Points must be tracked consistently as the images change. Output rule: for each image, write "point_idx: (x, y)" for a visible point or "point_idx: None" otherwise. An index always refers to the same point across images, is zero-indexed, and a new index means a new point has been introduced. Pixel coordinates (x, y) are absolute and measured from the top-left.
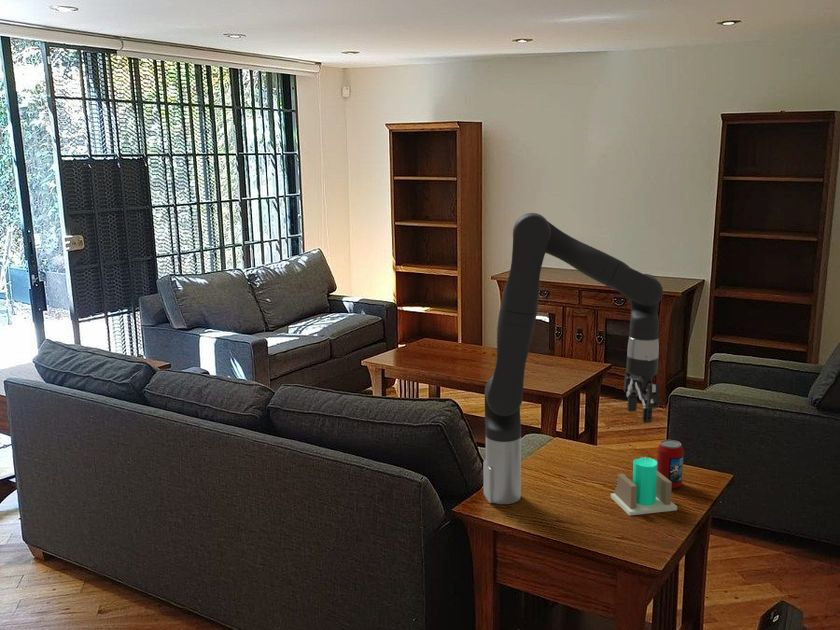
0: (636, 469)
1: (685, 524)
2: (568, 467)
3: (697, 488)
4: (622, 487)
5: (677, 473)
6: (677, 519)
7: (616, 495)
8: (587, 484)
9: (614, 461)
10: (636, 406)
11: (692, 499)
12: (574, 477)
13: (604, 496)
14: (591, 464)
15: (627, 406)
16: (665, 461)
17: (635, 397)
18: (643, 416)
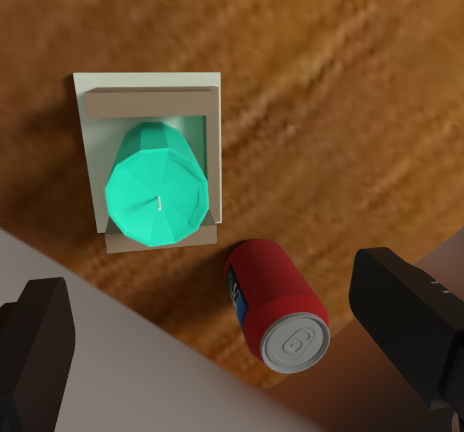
0: (138, 146)
1: (2, 215)
2: (450, 30)
3: (217, 319)
4: (164, 89)
5: (231, 298)
6: (38, 206)
7: (202, 85)
8: (322, 37)
9: (426, 186)
10: (370, 334)
11: (159, 287)
12: (382, 16)
13: (227, 53)
14: (437, 114)
15: (404, 262)
16: (254, 289)
17: (438, 396)
18: (15, 314)
